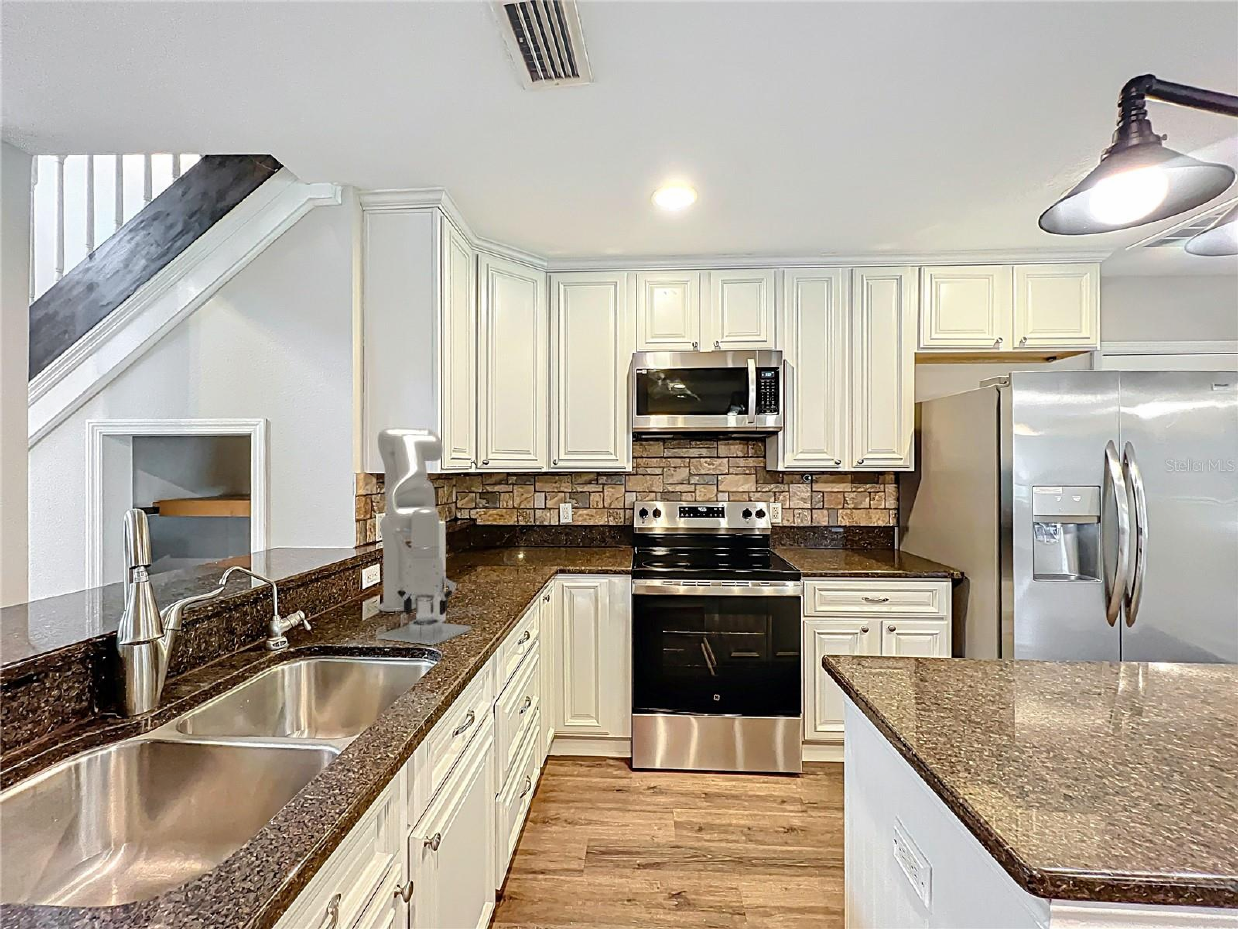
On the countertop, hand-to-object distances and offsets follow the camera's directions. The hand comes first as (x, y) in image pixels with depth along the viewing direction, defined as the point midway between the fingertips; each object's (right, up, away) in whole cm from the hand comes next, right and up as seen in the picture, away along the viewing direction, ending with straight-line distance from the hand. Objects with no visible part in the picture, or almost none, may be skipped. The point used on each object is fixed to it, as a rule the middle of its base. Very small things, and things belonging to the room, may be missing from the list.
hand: (425, 613), depth 180 cm
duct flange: (0, -6, 0) cm, 6 cm away
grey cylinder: (0, -5, 0) cm, 5 cm away
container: (-3, -6, +16) cm, 18 cm away
